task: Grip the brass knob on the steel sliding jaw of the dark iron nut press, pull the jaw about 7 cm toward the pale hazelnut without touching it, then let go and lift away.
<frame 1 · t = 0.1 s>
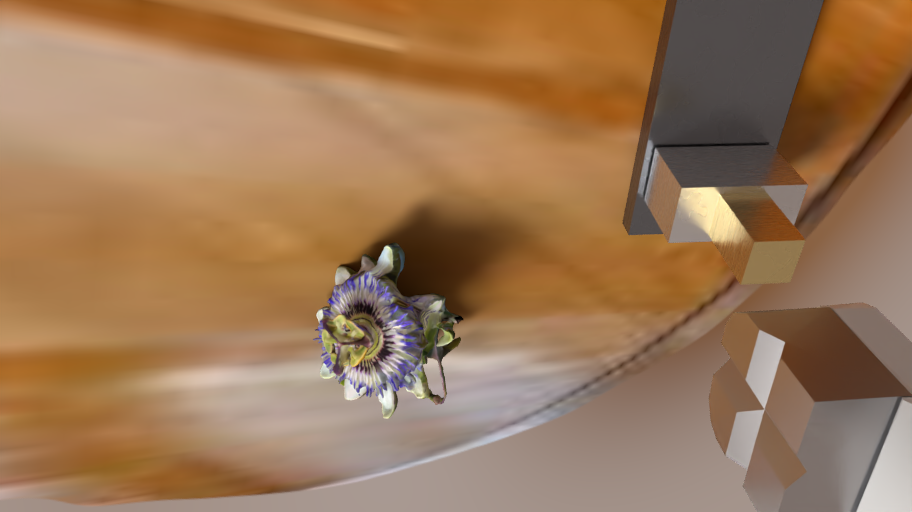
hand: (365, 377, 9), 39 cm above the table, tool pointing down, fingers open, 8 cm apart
passion flower: (391, 294, 58), on the table
press base: (726, 48, 49), on the table
sliding jaw: (737, 214, 49), point 7 cm above the table, slide at 0.0 cm
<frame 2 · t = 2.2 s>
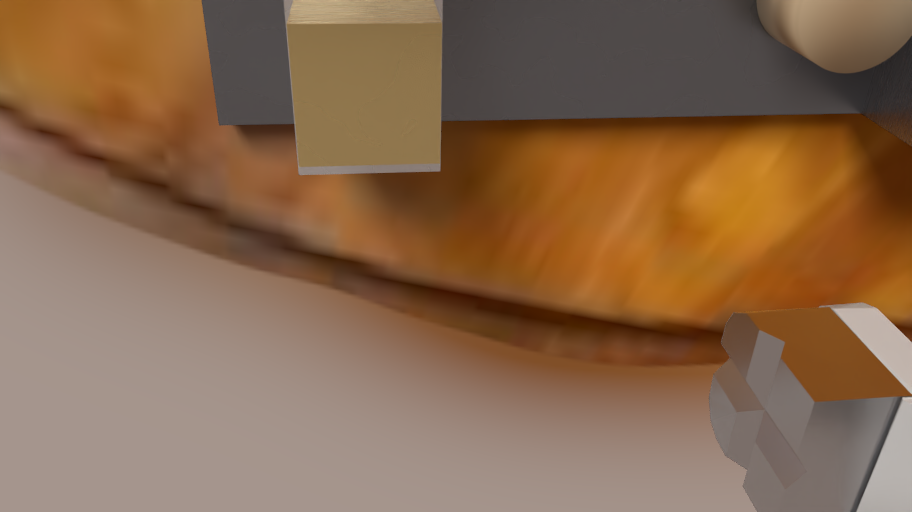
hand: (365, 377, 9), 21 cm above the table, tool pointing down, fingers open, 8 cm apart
sliding jaw: (365, 31, 20), point 7 cm above the table, slide at 0.0 cm
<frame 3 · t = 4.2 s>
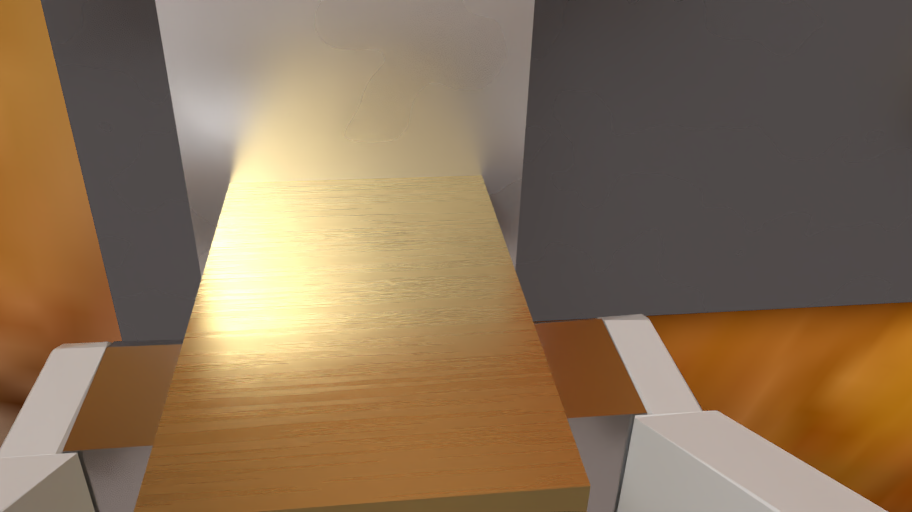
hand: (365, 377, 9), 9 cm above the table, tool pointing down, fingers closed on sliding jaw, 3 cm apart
press base: (732, 98, 17), on the table
sliding jaw: (362, 284, 10), point 7 cm above the table, slide at 0.0 cm, touching gripper
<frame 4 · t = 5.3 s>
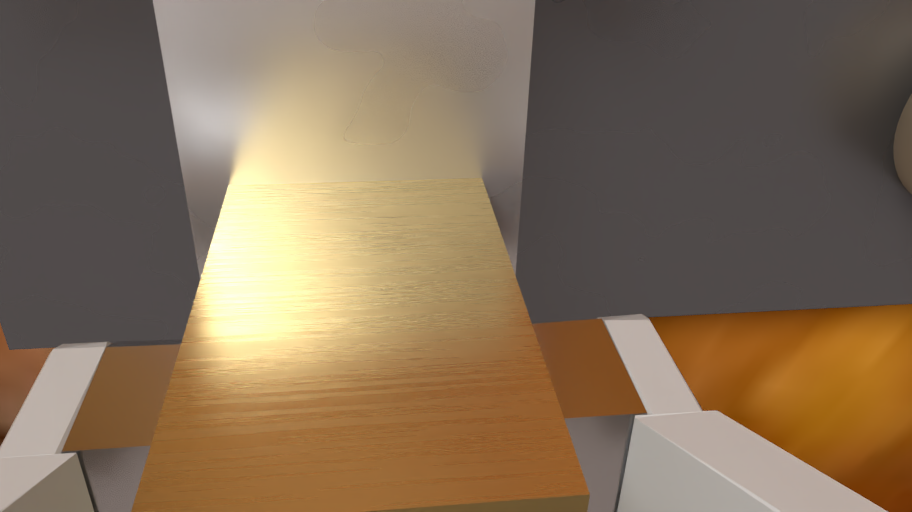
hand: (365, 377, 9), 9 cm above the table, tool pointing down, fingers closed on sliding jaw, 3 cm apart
press base: (633, 101, 17), on the table
sliding jaw: (362, 287, 10), point 7 cm above the table, slide at 2.3 cm, touching gripper
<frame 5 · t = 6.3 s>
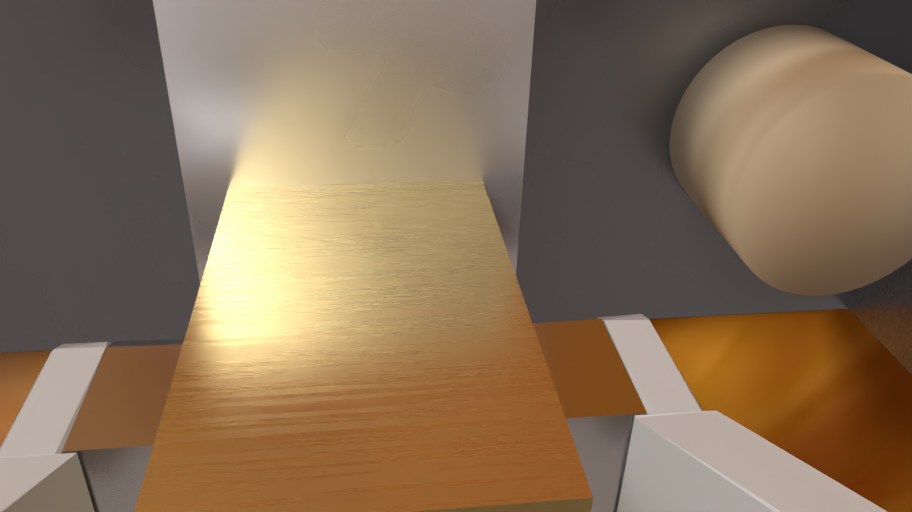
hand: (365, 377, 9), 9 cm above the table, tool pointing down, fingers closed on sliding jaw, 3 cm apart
hazelnut: (768, 127, 16), point 1 cm above the table, touching press base
press base: (407, 107, 16), on the table
sliding jaw: (362, 289, 10), point 7 cm above the table, slide at 7.0 cm, touching gripper
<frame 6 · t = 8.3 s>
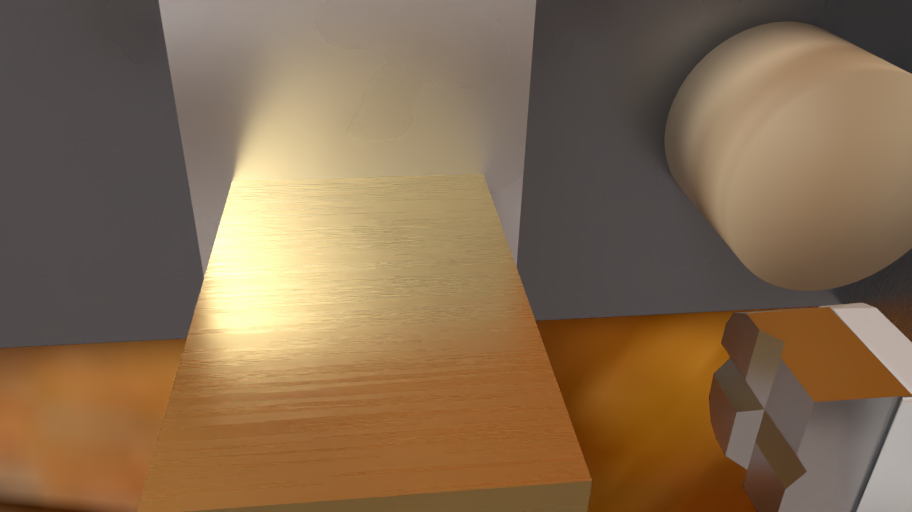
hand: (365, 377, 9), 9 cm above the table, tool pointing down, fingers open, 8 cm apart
hazelnut: (762, 123, 16), point 1 cm above the table, touching press base
press base: (404, 104, 16), on the table
sliding jaw: (364, 282, 10), point 7 cm above the table, slide at 7.1 cm
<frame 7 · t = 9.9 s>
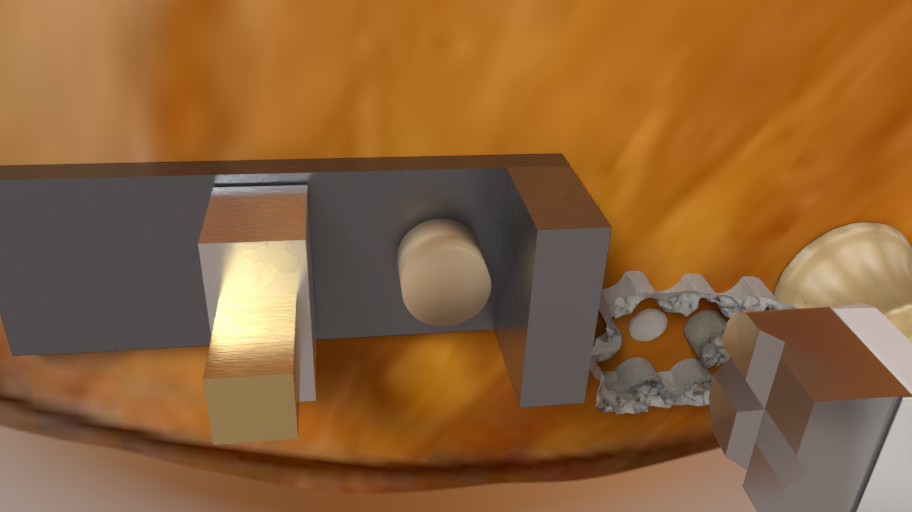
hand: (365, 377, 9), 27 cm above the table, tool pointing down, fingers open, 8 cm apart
hazelnut: (438, 255, 38), point 1 cm above the table, touching press base
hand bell: (839, 284, 45), on the table
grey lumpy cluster: (673, 318, 44), on the table
press base: (290, 246, 38), on the table
sliding jaw: (261, 327, 32), point 7 cm above the table, slide at 7.1 cm
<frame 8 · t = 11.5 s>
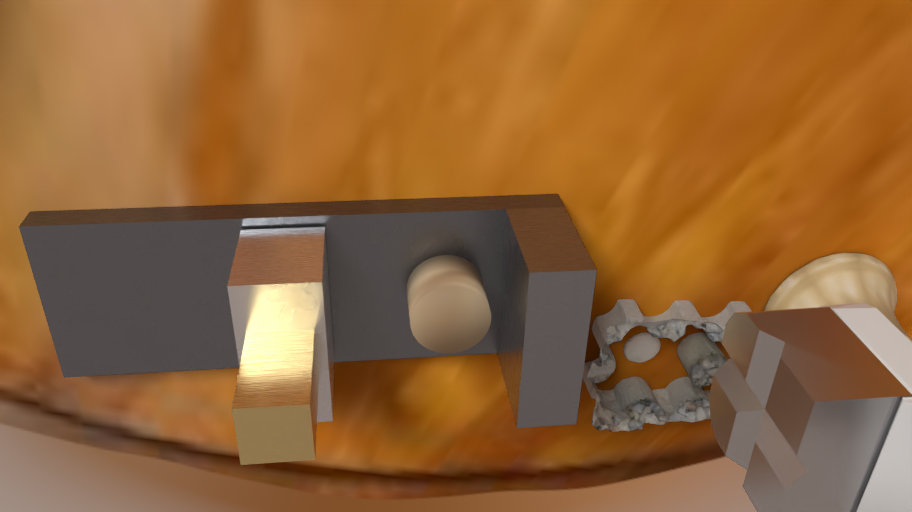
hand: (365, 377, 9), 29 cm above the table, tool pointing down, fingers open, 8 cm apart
hazelnut: (444, 287, 41), point 1 cm above the table, touching press base
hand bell: (824, 308, 47), on the table
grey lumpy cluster: (666, 340, 47), on the table
press base: (310, 278, 42), on the table
sliding jaw: (283, 357, 36), point 7 cm above the table, slide at 7.1 cm
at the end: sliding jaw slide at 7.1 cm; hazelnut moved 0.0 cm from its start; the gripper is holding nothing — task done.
